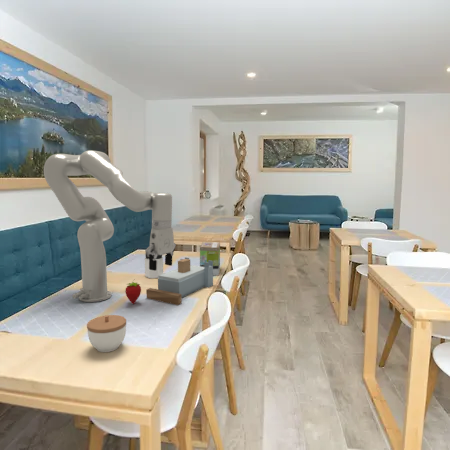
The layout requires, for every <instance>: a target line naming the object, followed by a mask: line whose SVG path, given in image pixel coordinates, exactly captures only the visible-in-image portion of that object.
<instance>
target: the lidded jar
mask: <svg viewBox="0 0 450 450" xmlns="http://www.w3.org/2000/svg"><path fill="white" fill-rule="evenodd" d="M86 328H87V329H86V330H87V335H88V336H87V337H88V340H89V342H90V345H91V346H92V347H93V348H94V349H96V350H97V352H100V353H110V352H114V351H115V350H117V349H118V348H119V347H120V345H122V343H123V342H124V340H125V337H126V331H127V319H126V318H125V317H124V316H122V315H118V314H105V315H101V316H97V317H94V318H93V319H92V318H91V320H89V321H88V322H87V323H86Z"/></svg>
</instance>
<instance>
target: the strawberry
mask: <svg viewBox="0 0 450 450" xmlns="http://www.w3.org/2000/svg"><path fill="white" fill-rule="evenodd" d="M135 279H136V278H134V279H133V281H132V282H131V283H130V282H129V283H126V285H127V286H126V287H125V295H126V297H127V299H128V301H129V302H130V303H131V304H133V305H135V304H136V302H137V300H138V299H139V297H140V296H141V293H142V287H141V284H139V283H138V282H134V281H135Z"/></svg>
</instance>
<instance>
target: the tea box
mask: <svg viewBox="0 0 450 450" xmlns="http://www.w3.org/2000/svg"><path fill="white" fill-rule="evenodd" d="M209 260H210V261H213V276H219V274H220V268H221V242H214V241H213V242H211V241H210V242H207V241H205V242H204V241H202V243H201V245H200V246H199V266H201V267H204V262H208V261H209Z"/></svg>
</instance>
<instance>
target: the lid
mask: <svg viewBox="0 0 450 450" xmlns="http://www.w3.org/2000/svg"><path fill="white" fill-rule="evenodd" d="M181 259H182V260H180V259H179V260H177V268H176V269H173V270H171V271H170V270H169V271H168V272H163V274H162V275H159V279H165V280H170V281H176V282H180V281H182V280H185V279H187V278H189V277H192V276H194V275H197V274H199V273H202V272H204V267H201V266H200V265H193V264H191V259H190V258H189V259H185V258H181Z"/></svg>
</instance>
